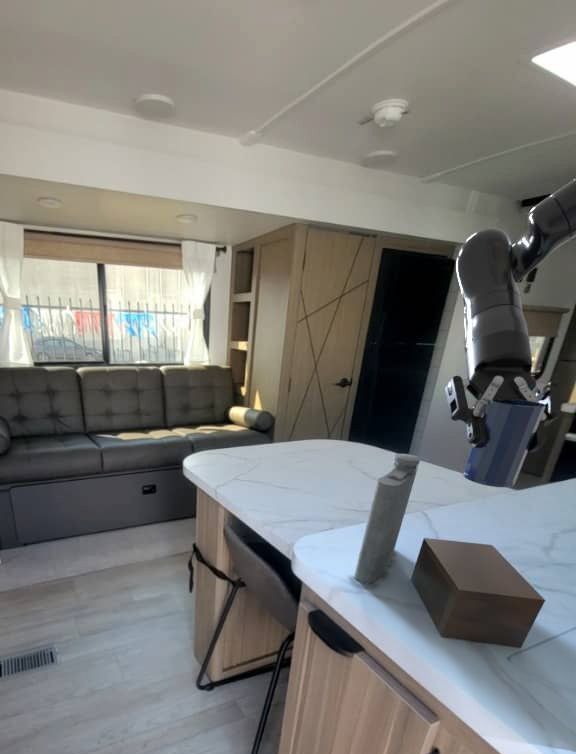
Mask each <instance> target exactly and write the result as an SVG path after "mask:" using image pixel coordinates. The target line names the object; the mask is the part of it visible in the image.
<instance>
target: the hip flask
mask: <svg viewBox="0 0 576 754" xmlns="http://www.w3.org/2000/svg"><path fill="white" fill-rule="evenodd" d="M393 461H394V463H393V468H392V470H391V471H389V472H388V473H387V474H385V475H383V476H381V477H379V478H377V480H376V485H375V489H374V492H373V493H374V494H373V497H372V501H371V504H370V508H369V513H368V518H367V522H366V525H365V529H364V533H363V538H362V542H361V547H360V550H359V554H358V558H357V563H356V566H355V570H354V575H353V578H354V579H355V581H358V582H360V583H362V584H368V585H369V584H373V583H374V582H376V581H377V580H378V579H379V578H380V577H382V575H383V574H384V573H385V572H386V570H387V569H388V567H389V566H390V563H391V562H392V558H393V555H394V552H395V548H396V546H397V542H398V538H399V534H400V531H401V528H402V524H403V521H404V517H405V514H406V510H407V506H408V503H409V500H410V497H411V493H412V490H413V486H414V483H415V479H416V475H417V472H418V469H419V464H420V462H421V458H420V457H418V456H416V455H412V454H409V453H397V454H395V455H394V458H393Z"/></svg>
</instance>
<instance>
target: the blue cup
mask: <svg viewBox="0 0 576 754" xmlns="http://www.w3.org/2000/svg"><path fill="white" fill-rule="evenodd" d="M499 399H501V398H493V399H488V402H487V404H486V408H485V411H484V413H483V415H482V416H481V417H482V418H484V420H485V430H486V442H485V443H484V444H483V445H482V446H481V447H480V448H473V447H472V446H471V449H470V451H469V455H468V458H467V461H466V463H465V467H464V471H463V473H462V476H463V478H465V479H467V480H468V481H470V482H473V483H475V484H479V485H483V486H489V487H493V488H511V487H513V486H514V485H515V483H516V481H517V480H518V477H519V474H520V472H521V469H522V468H523V465H524V462H525V459H526V457H527V454H528V453H529V452H528V449H529V447H530V444H531V442H532V439H533V437H534V434H535V432H536V430H537V427H538V425H539V422H540V420H541V417H542V415H543V412H544V410H545V407H546V405H545V404H542V403H539V402H534V401H527V400H522V399H512V400H515V401H517V402H513V403H509V402H507V401H504V402H499V401H497V400H499Z"/></svg>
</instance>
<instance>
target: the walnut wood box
mask: <svg viewBox="0 0 576 754" xmlns="http://www.w3.org/2000/svg"><path fill="white" fill-rule="evenodd" d="M410 580H411V582H412V584H413V586H414V588H415V590H416V592H417V594H418V596H419V598H420V600H421V601H422V603H423V605H424V607H425V609H426V611H427V613H428V615H429V616H430V619H431V620H432V622H433V624H434V625H435V628H436V630H437V632H438V633H439V635H440V637H441V638H445V639H454V640H459V641H460V640H461V641H468V642H475V643H484V644H489V645H498V646H503V647H504V646H505V647H511V648H518V649H521V648H522V647H523V646H524V643H525V641H526V639H527V637H528V636H529V633H530V631H531V629H532V628H533V626H534V623H535V621H536V619H537V618H538V616H539V613H540V612H541V610H542V608H543V606H544V604H545V602H546V599H545V598H544V597H543V596H542V595H541V594H540V593H539V592H538V591H537V590H536V589H535V588H534V587H533V586H532V585H531V584H530V583H529V581H528V580H527V579H526V578H524V576H523V575H522V574H521V573H519V571H518V570H517V569H516V568H515V567H514V566H513V565H512V564H511V563H510V562H509V561H508V560H507V559H506V558H505V557H504V556H503V555H502V553H501V552H500V551H499V550H497V548H496V547H495V546H494V545H493V544H486V543H476V542H467V541H460V540H459V541H457V540H449V539H437V538H428V537H423V540H422V541H421V546H420V549H419V551H418V555H417V559H416V562H415V564H414V568H413V571H412V574H411V577H410Z"/></svg>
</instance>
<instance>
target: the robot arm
mask: <svg viewBox="0 0 576 754" xmlns="http://www.w3.org/2000/svg"><path fill="white" fill-rule="evenodd" d="M575 237H576V177H575V178H573V179H572V180H571V181H568V182H567V183H565V185H563V186H561V187H560V188H559V189H557V190H556V191H554V192H553V193H551V194H550V195H549V196H547V197H545V198H544V199H543V200H541V201H540V202H539V203H537V204H536V205H534V206H533V207H532V208H531V209H530V210H529V212H528V213H527V216H526V220H525V228H524V232H523V234H522V235H521V236H520V237H519V238H518V239H517V241H515V242H514V243H513V244H512V241H511V238H510V236H509V235H508V233H507V232H506V231H505V230H503V229H502V228H497V227H487V228H483V229H480V230H478V231H476V232H474V233H473V234H471V235H470V236H468V238H467V239H466V240H465V241H464V242H463V244H462V245H461V247H460V248H459V251H458V252H457V255H456V258H455V270H456V277H457V281H458V285H459V289H460V290H459V291H460V293H461V297H462V301H463V306H464V307H463V308H464V313H463V315H464V329H465V335H464V352H465V362H466V363H465V365H466V376H467V378H466V379H463V378H462V377H461V376H460V375H454V376H452V378H451V380H450V381H449V382H448V383H447V385H446V386H445V388H444V392H445V396H446V402H447V407H448V411H449V416H450V419H451V420H452V421H454V422H458V421H461V422H464V425H466V432H467V441H468V444H470V445H471V448H472V447H473V448H480V447H481V446H482V445H483V444H484V443H485V442H486V430H485V420H484V418H482V416H483V413H484V411H485V408H486V404H487V402H488V399H493V398H501V399H499V400H497V401H499V402H504V401H507V402H509V403H513V402H517V401H515V400H512V399H522V400H527V401H534V402H539V403H542V404H545V405H546V407H545V410H544V412H543V415H542V417H541V420H540V422H539V425H538V427H537V430H536V432H535V434H534V437H533V439H532V442H531V444H530V447H529V449H528V452H527V453H536V452H537V451H538V450H540V449H541V448H543V446H544V445H545V444H546V442H547V434H546V427H548V425H550V424H551V423H552V422H553V421H554V420H556V419H558V418H559V417H560V416H561V415H562V409H561V408H562V407H561V406H562V405H561V401H562V400H561V382H560V381H558V380H557V379H553V380H551V381H550V382H549V383H545V382H537V380H536V378H535V377H534V376H533V375H532V368H533V358H532V357H533V356H532V350H531V343H530V337H529V330H528V329H529V328H528V324H527V321H526V317H525V316H524V311H523V306H522V298H521V293H520V290H519V287H518V285H517V284H518V283H519V282H520V281H521V280H522V279H523V278H525V277H526V276H527V275H528V274H529V273H530V272H531V271H533V270H534V269H535V268H536V267H537V266H539V265H540V264H541V263H542V262H543V261H544V260H545V259H546V258H548V256H550V255H551V254H552V253H553V252H554V251H555V250H556V249H558V248H559V247H560V246H562V245H564V244H565V243H567V242H570V240H572V239H574V238H575ZM466 391H467V392H469V394H470V395H471V396H472V397H473V398H474V399H475V401H474V403H473V405H471V407H470V408H469V404H468V400H467V395H466Z"/></svg>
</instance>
